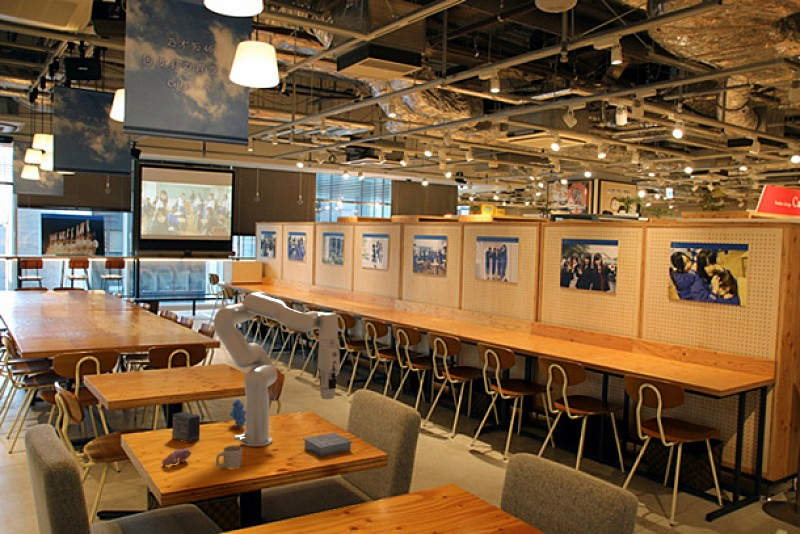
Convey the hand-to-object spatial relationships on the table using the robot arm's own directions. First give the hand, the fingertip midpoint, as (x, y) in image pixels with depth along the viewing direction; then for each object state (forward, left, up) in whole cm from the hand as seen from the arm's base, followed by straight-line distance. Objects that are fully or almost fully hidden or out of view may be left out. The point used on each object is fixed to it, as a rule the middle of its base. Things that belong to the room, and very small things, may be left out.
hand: (327, 386), depth 260 cm
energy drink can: (0, 0, -5) cm, 5 cm away
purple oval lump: (-56, +16, -26) cm, 64 cm away
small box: (-43, +43, -26) cm, 66 cm away
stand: (0, -1, -26) cm, 26 cm away
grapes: (-18, +49, -26) cm, 58 cm away
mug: (-41, +2, -26) cm, 49 cm away
